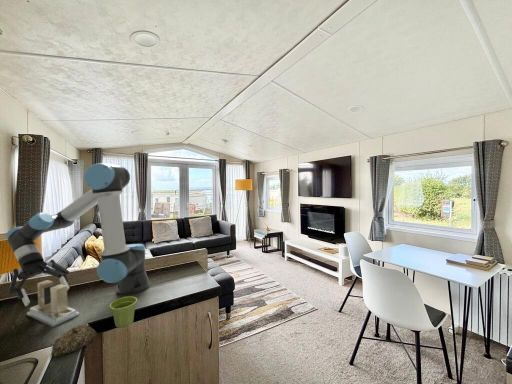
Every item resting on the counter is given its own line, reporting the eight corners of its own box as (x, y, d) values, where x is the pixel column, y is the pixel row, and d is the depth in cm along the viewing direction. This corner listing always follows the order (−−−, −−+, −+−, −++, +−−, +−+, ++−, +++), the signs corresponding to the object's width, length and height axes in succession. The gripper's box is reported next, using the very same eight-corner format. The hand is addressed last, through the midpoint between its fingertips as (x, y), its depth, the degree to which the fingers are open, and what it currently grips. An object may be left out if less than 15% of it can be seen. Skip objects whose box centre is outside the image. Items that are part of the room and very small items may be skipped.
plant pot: (107, 334, 83) (107, 311, 83) (112, 320, 92) (111, 299, 92) (136, 327, 87) (136, 305, 87) (138, 314, 96) (137, 294, 95)
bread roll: (98, 343, 79) (98, 329, 79) (50, 362, 71) (49, 346, 70) (94, 326, 88) (93, 314, 88) (51, 340, 80) (51, 327, 80)
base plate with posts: (26, 315, 96) (25, 284, 95) (52, 304, 104) (51, 276, 103) (53, 326, 88) (51, 293, 87) (79, 314, 96) (78, 284, 95)
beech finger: (38, 310, 97) (37, 283, 97) (48, 306, 100) (47, 280, 100) (44, 313, 95) (43, 285, 95) (54, 309, 98) (53, 281, 98)
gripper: (59, 254, 115) (78, 288, 109) (-15, 271, 92) (4, 316, 86) (65, 244, 112) (84, 279, 107) (-10, 260, 89) (10, 306, 84)
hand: (48, 296), depth 96 cm, fingers open, 13 cm apart
